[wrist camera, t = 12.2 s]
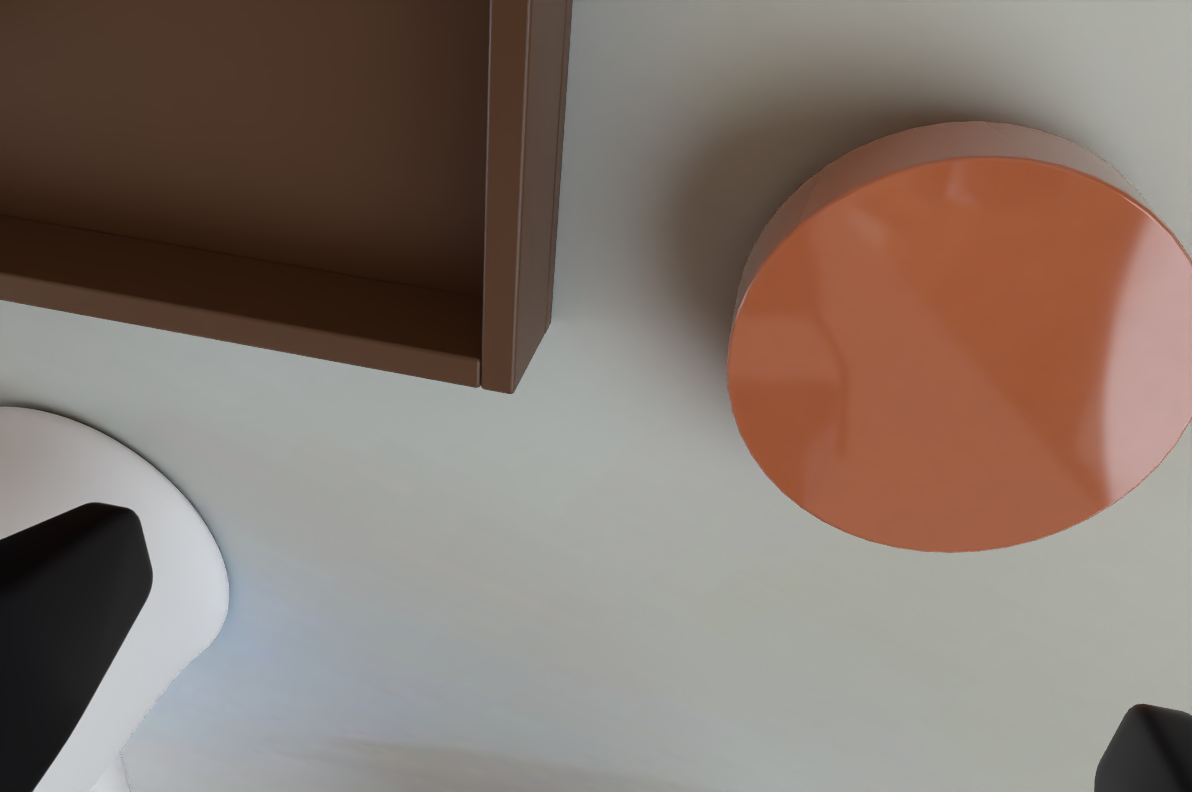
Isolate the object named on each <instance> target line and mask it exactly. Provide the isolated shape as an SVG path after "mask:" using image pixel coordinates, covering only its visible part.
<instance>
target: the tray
mask: <svg viewBox="0 0 1192 792" xmlns="http://www.w3.org/2000/svg"><path fill="white" fill-rule="evenodd" d="M572 2H573V0H0V300H5V301H10V302H15V303H21V304H26V305H32V306H37V307H42V308H48V309H53V310H59V311H64V312H69V313H75V314H80V315H86V316H91V317H96V318H102V319H107V320H113V321H118V322H124V323H129V324H134V325H140V326H145V327H151V328H156V329H161V330H167V331H172V332H178V333H183V334H188V335H194V336H199V337H205V338H210V339H216V340H221V341H226V342H232V343H237V344H243V345H248V346H253V347H259V348H264V349H270V350H275V351H280V352H286V353H291V354H297V355H302V356H307V357H313V358H318V359H324V360H329V361H335V362H340V363H345V364H351V365H356V366H362V367H367V368H372V369H378V370H383V371H389V372H394V373H399V374H405V375H410V376H416V377H421V378H426V379H432V380H437V381H443V382H448V383H454V384H459V385H464V386H470V387H475V388H477V387H480V385H481V387H482V388H483V389H486V390H491V391H497V392H502V393H508V394H512V393H514V391H515V389H516V387H517V385H518V383H519V382H520V380H521V378H522V376H523V374H524V372H525V370H526V368H527V366H528V365H529V363H530V361H531V359H532V357H533V355H534V353H535V351H536V349H537V347H538V346H539V344H540V342H541V340H542V338H543V336H544V334H545V333H546V331H547V329H548V327H549V325H550V323H551V312H552V298H553V283H554V268H555V253H556V238H557V224H558V209H559V194H560V179H561V165H562V150H563V135H564V120H565V106H566V91H567V76H568V61H569V47H570V32H571V17H572Z"/></svg>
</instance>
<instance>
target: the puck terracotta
mask: <svg viewBox="0 0 1192 792" xmlns="http://www.w3.org/2000/svg"><path fill="white" fill-rule="evenodd" d="M726 364H727V388H728V393H729V398H730V403H731V408H732V412H733V415H734V418H735V421H736V424H737V427H738V429H739V432H740V434H741V436H742V438H743V440H744V442H745V444H746V446H747V448H748V450H749V451H750V453H751V455H752V456H753V458H754V459H755V461H756V462H757V463H758V465H759V466H760V467H761V469H762V470H763V472H764V473H765V474H766V476H767V477H768V478H769V479H770V480H771V481H772V482H773V483H774V484H775V485H776V486H777V487H778V488H779V489H780V490H781V491H782V492H783V493H784V494H785V495H786V496H788V497H789V498H790V499H791V500H792V501H794V502H795V503H796V504H797V505H799V506H800V507H801V508H803V509H804V510H806V511H807V512H809V513H810V514H812V515H814V516H815V517H817V518H818V519H820V520H821V521H823V522H825V523H827V524H829V525H831V526H833V527H836V528H838V529H840V530H842V531H844V532H846V533H849V534H851V535H854V536H857V537H860V538H863V539H865V540H868V541H871V542H875V543H879V544H883V545H888V546H892V547H896V548H902V549H909V550H916V551H924V552H945V553H955V552H976V551H985V550H992V549H999V548H1005V547H1010V546H1014V545H1018V544H1023V543H1027V542H1031V541H1035V540H1038V539H1041V538H1044V537H1046V536H1049V535H1052V534H1055V533H1058V532H1061V531H1063V530H1066V529H1068V528H1070V527H1072V526H1074V525H1076V524H1078V523H1081V522H1083V521H1085V520H1087V519H1089V518H1091V517H1092V516H1094V515H1096V514H1098V513H1099V512H1101V511H1103V510H1104V509H1106V508H1108V507H1109V506H1111V505H1113V504H1114V503H1116V502H1117V501H1118V500H1119V499H1121V498H1122V497H1123V496H1125V495H1126V494H1127V493H1129V492H1130V491H1131V490H1133V489H1134V488H1135V487H1137V486H1138V485H1139V484H1140V483H1141V482H1142V481H1143V480H1144V479H1145V478H1146V477H1147V476H1148V475H1149V474H1150V473H1151V472H1152V471H1154V470H1155V469H1156V468H1157V467H1158V466H1159V464H1160V463H1161V462H1162V461H1163V459H1164V458H1165V457H1166V456H1167V455H1168V453H1169V452H1170V451H1171V450H1172V448H1173V447H1174V446H1175V445H1176V443H1177V442H1178V440H1179V439H1180V437H1181V435H1182V434H1183V432H1184V430H1185V429H1186V427H1187V425H1188V424H1189V422H1190V421H1191V419H1192V260H1191V258H1190V256H1189V255H1188V253H1187V252H1186V251H1185V249H1184V248H1183V246H1182V245H1181V243H1180V242H1179V241H1178V239H1177V238H1176V236H1175V235H1174V233H1173V232H1172V231H1171V230H1170V229H1169V227H1168V226H1167V225H1166V224H1165V223H1164V221H1163V220H1162V219H1161V218H1160V217H1159V215H1158V214H1157V213H1156V212H1155V211H1154V209H1153V208H1152V207H1151V206H1150V205H1149V203H1148V202H1147V201H1146V200H1145V199H1144V197H1143V196H1142V195H1141V194H1140V193H1139V191H1138V190H1137V189H1136V188H1135V187H1134V186H1133V185H1132V184H1131V183H1130V182H1129V181H1128V180H1127V179H1126V178H1125V177H1124V176H1123V175H1122V174H1121V173H1120V172H1119V171H1118V170H1116V169H1115V168H1114V167H1112V166H1111V165H1109V164H1108V163H1107V162H1105V161H1104V160H1103V159H1101V158H1100V157H1099V156H1097V155H1096V154H1094V153H1092V152H1090V151H1089V150H1087V149H1085V148H1083V147H1081V146H1079V145H1077V144H1075V143H1073V142H1071V141H1069V140H1067V139H1064V138H1061V137H1059V136H1056V135H1053V134H1050V133H1047V132H1044V131H1042V130H1038V129H1034V128H1029V127H1024V126H1019V125H1014V124H1009V123H998V122H984V121H965V122H946V123H939V124H933V125H927V126H922V127H916V128H911V129H908V130H905V131H901V132H898V133H895V134H891V135H888V136H885V137H881V138H879V139H877V140H875V141H872V142H870V143H868V144H865V145H863V146H861V147H858V148H856V149H854V150H852V151H850V152H849V153H847V154H845V155H844V156H842V157H840V158H838V159H837V160H835V161H833V162H832V163H830V164H828V165H827V166H825V167H824V168H823V169H821V170H820V171H819V172H817V173H816V174H815V175H813V176H812V177H811V178H810V179H808V180H807V181H806V182H804V183H803V184H802V185H801V186H800V187H799V188H798V189H797V190H796V191H795V192H794V193H793V194H792V195H791V196H790V197H789V198H788V199H787V200H786V201H785V202H784V203H783V204H782V205H781V206H780V208H779V209H778V210H777V212H776V213H775V214H774V215H773V217H772V218H771V219H770V220H769V222H768V223H767V224H766V226H765V228H764V229H763V231H762V233H761V234H760V236H759V238H758V239H757V241H756V243H755V244H754V246H753V248H752V250H751V253H750V255H749V258H748V260H747V262H746V265H745V267H744V270H743V273H742V277H741V280H740V284H739V288H738V292H737V297H736V302H735V308H734V314H733V320H732V326H731V331H730V337H729V345H728V354H727V363H726Z"/></svg>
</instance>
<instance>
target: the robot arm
mask: <svg viewBox="0 0 1192 792" xmlns="http://www.w3.org/2000/svg"><path fill="white" fill-rule="evenodd" d="M152 582H153V570H152V565H151V561H150V557H149V553H148V549H147V545H146V541H145V537H144V533H143V529H142V525H141V521H140V519H139V517H138V515H137V514H136V513H135V512H134V511H133V510H131V509H129V508H126V507H121V506H116V505H111V504H106V503H101V502H91V503H86V504H84V505H81V506H79V507H76V508H74V509H72V510H69V511H67V512H65V513H62V514H60V515H57V516H55V517H53V518H50V519H48V520H46V521H43V522H41V523H39V524H36V525H34V526H31V527H29V528H27V529H24V530H22V531H20V532H17V533H15V534H13V535H10V536H8V537H6V538H3V539H1V540H0V792H33V791H34V789H35V788H36V786H37V785H38V783H39V782H40V781H41V779H42V778H43V776H44V775H45V773H46V772H47V770H48V769H49V768H50V766H51V765H52V763H53V762H54V760H55V759H56V757H57V756H58V754H59V753H60V751H61V750H62V748H63V747H64V745H65V743H66V742H67V740H68V739H69V737H70V736H71V734H72V732H73V731H74V729H75V727H76V726H77V724H78V722H79V721H80V719H81V717H82V716H83V714H84V712H85V710H86V709H87V707H88V705H89V703H90V701H91V700H92V698H93V696H94V694H95V692H96V691H97V689H98V687H99V685H100V683H101V682H102V680H103V678H104V676H105V674H106V673H107V671H108V669H109V667H110V665H111V664H112V662H113V660H114V658H115V656H116V655H117V653H118V651H119V649H120V647H121V646H122V644H123V642H124V640H125V638H126V637H127V635H128V633H129V631H130V629H131V628H132V626H133V624H134V622H135V620H136V619H137V617H138V615H139V613H140V611H141V610H142V608H143V606H144V604H145V602H146V601H147V598H148V596H149V594H150V591H151V588H152ZM1094 791H1095V792H1192V715H1190V714H1188V713H1185V712H1183V711H1178V710H1173V709H1168V708H1163V707H1158V706H1152V705H1147V704H1137V705H1135V706H1133V707H1132V708H1130V709H1129V710H1128V712H1127V713H1126V714H1125V716H1124V718H1123V720H1122V722H1121V724H1120V725H1119V727H1118V729H1117V731H1116V733H1115V735H1114V736H1113V738H1112V740H1111V742H1110V744H1109V746H1108V747H1107V749H1106V751H1105V753H1104V755H1103V757H1102V758H1101V760H1100V762H1099V765H1098V767H1097V771H1096V775H1095V787H1094Z"/></svg>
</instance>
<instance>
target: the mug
mask: <svg viewBox="0 0 1192 792" xmlns="http://www.w3.org/2000/svg"><path fill="white" fill-rule="evenodd" d="M91 502H101V503H106V504H111V505H116V506H121V507H126V508H129V509H131V510H133V511H134V512H135V513H136V514H137V515H138V517H139V519H140V521H141V525H142V529H143V533H144V537H145V541H146V545H147V549H148V553H149V557H150V561H151V565H152V570H153V582H152V588H151V591H150V594H149V596H148V598H147V601H146V602H145V604H144V606H143V608H142V610H141V611H140V613H139V615H138V617H137V619H136V620H135V622H134V624H133V626H132V628H131V629H130V631H129V633H128V635H127V637H126V638H125V640H124V642H123V644H122V646H121V647H120V649H119V651H118V653H117V655H116V656H115V658H114V660H113V662H112V664H111V665H110V667H109V669H108V671H107V673H106V674H105V676H104V678H103V680H102V682H101V683H100V685H99V687H98V689H97V691H96V692H95V694H94V696H93V698H92V700H91V701H90V703H89V705H88V707H87V709H86V710H85V712H84V714H83V716H82V717H81V719H80V721H79V722H78V724H77V726H76V727H75V729H74V731H73V732H72V734H71V736H70V737H69V739H68V740H67V742H66V743H65V745H64V747H63V748H62V750H61V751H60V753H59V754H58V756H57V757H56V759H55V760H54V762H53V763H52V765H51V766H50V768H49V769H48V770H47V772H46V773H45V775H44V776H43V778H42V779H41V781H40V782H39V783H38V785H37V786H36V788H35V789H34V791H33V792H131V789H130V784H129V780H128V776H127V772H126V769H125V765H124V762H123V759H122V757H121V754H120V750H121V748H122V747H123V746H124V744H125V743H126V742H127V740H128V739H129V738H130V736H131V735H132V734H133V732H134V731H135V730H136V728H137V727H138V726H139V724H140V723H141V722H142V720H143V719H144V718H145V716H146V715H147V714H148V712H149V711H150V710H151V708H152V707H153V706H154V704H155V703H156V702H157V700H158V699H159V698H160V697H161V695H162V694H163V693H164V691H165V690H166V689H167V688H168V686H169V685H170V684H171V683H172V681H173V680H174V679H175V678H176V676H177V675H178V674H179V673H180V672H181V671H182V670H183V668H184V667H185V666H186V665H187V664H189V663H190V662H191V661H192V660H193V659H195V658H196V657H197V656H198V655H200V654H201V653H202V652H203V651H204V650H205V649H206V648H207V647H208V646H209V645H210V644H211V643H212V642H213V641H214V639H215V638H216V637H217V635H218V634H219V632H220V630H221V628H222V626H223V624H224V622H225V619H226V615H227V611H228V606H229V583H228V576H227V572H226V568H225V564H224V561H223V558H222V556H221V553H220V550H219V548H218V546H217V544H216V542H215V540H214V538H213V536H212V534H211V532H210V531H209V529H208V527H207V526H206V524H205V523H204V521H203V520H202V518H201V517H200V515H199V514H198V513H197V511H196V510H195V509H194V507H193V506H192V505H191V504H190V502H189V501H188V500H187V499H186V498H185V497H184V495H183V494H182V493H181V492H180V491H179V490H178V489H177V488H176V487H175V486H174V485H173V484H172V483H171V482H170V481H169V480H168V479H167V478H166V477H165V476H164V475H162V474H161V473H160V472H159V471H158V470H157V469H156V468H154V467H153V466H152V465H151V464H149V463H148V462H147V461H146V460H144V459H143V458H142V457H140V456H139V455H137V454H136V453H134V452H133V451H132V450H130V449H129V448H127V447H125V446H124V445H122V444H121V443H119V442H117V441H116V440H114V439H112V438H110V437H109V436H107V435H105V434H103V433H101V432H99V431H97V430H95V429H93V428H91V427H88V426H86V425H84V424H81V423H79V422H76V421H74V420H71V419H68V418H65V417H62V416H59V415H56V414H52V413H48V412H44V411H39V410H34V409H28V408H20V407H0V540H1V539H3V538H6V537H8V536H10V535H13V534H15V533H17V532H20V531H22V530H24V529H27V528H29V527H31V526H34V525H36V524H39V523H41V522H43V521H46V520H48V519H50V518H53V517H55V516H57V515H60V514H62V513H65V512H67V511H69V510H72V509H74V508H76V507H79V506H81V505H84V504H86V503H91Z"/></svg>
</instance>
